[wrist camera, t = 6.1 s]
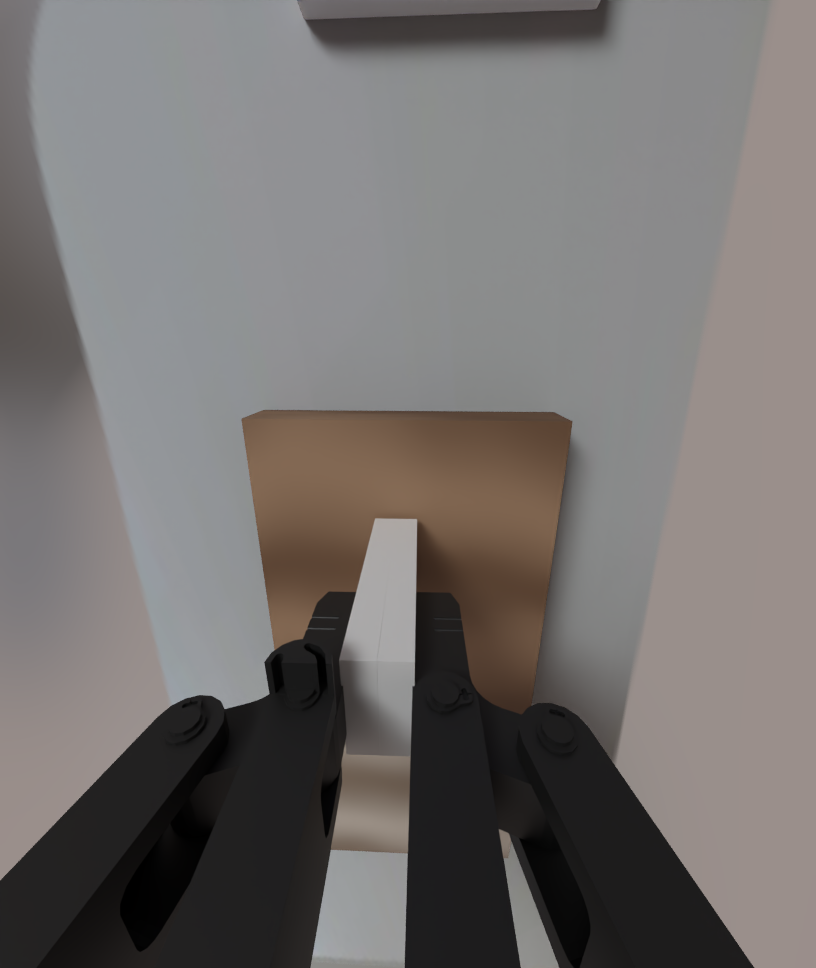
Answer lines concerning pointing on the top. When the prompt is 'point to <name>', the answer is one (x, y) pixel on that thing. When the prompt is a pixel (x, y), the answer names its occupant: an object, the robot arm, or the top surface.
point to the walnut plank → (416, 495)
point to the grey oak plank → (377, 805)
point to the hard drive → (431, 7)
